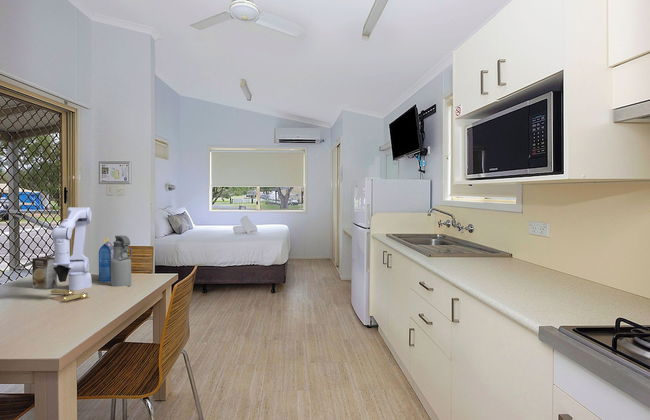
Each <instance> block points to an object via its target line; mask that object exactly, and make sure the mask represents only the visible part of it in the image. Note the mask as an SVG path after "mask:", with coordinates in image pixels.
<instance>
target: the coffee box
mask: <svg viewBox="0 0 650 420" xmlns="http://www.w3.org/2000/svg"><path fill="white" fill-rule="evenodd" d="M31 261H32V262H31V263H32V264H31V267H32V273H31V274H32V289H39V290H40V289H43V290H49V289H53V288H55V287H57V286H58V285H57V284H58V280H57V279H58V276H57V273H56V272H55V270H54V269H53V268H54V267H57V265H51V261H55V256H54V257H53V256H39V257H35V258H34V257H33V258H32V260H31Z"/></svg>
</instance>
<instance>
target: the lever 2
mask: <svg viewBox="0 0 650 420" xmlns="http://www.w3.org/2000/svg"><path fill="white" fill-rule="evenodd" d="M87 297H89V293H88V292H79V293H74V295H70V296H65V297H63V298H62V300H63V301H67V300H71V299H75V298H78V299H83V300H85V299H84V298H87ZM87 299H88V298H87Z"/></svg>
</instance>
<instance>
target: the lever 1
mask: <svg viewBox="0 0 650 420" xmlns="http://www.w3.org/2000/svg"><path fill="white" fill-rule="evenodd" d="M50 294H59V295H64V296H70V295H74V294H75V290H69V289H62V288H61V289H59V288H58V289H54V288H53V289H51V290H50Z"/></svg>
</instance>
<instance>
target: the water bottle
mask: <svg viewBox="0 0 650 420" xmlns="http://www.w3.org/2000/svg"><path fill="white" fill-rule="evenodd" d="M114 238H115V241H113V249H114V259H112V260H111V281H110V286H111V287H117V288H119V287H130V286H131V285H132V260H131V258H132V256H133V249H132V248H130V247H129V246H131V240H130V238H129V236H127V235H115V236H114ZM129 253H130V254H129Z"/></svg>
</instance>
